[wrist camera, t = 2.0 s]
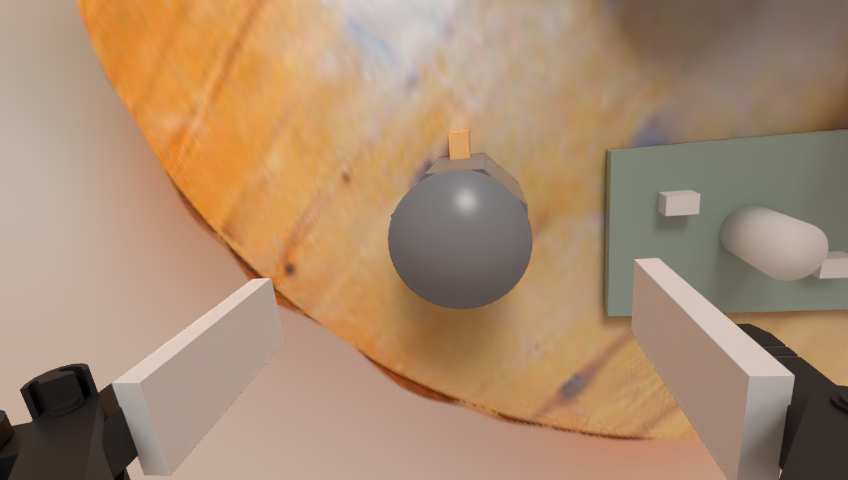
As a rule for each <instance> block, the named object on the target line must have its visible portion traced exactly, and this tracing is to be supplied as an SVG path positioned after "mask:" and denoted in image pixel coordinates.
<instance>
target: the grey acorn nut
mask: <svg viewBox="0 0 848 480" xmlns="http://www.w3.org/2000/svg"><path fill="white" fill-rule="evenodd" d="M448 140H449V152H450V156H448V157H440V158H439V159H438V160H437V161H436V162H435V163H434V164H433V166H432V167H431V168H430V169H429V170H428V171H427V172H426V174H425V175H424V176H423V177H422V178H421V180H420V181H419V182H418V183H417V184H416V185H415V186H414V187H412V188H411V189H410V191H409V192H408V193H407V194H406V195H405V196H404V197H403V198H402V200H401V201H400V203H399V204H398V206H397V208H396V209H395V211H394V213H393V214H392V215H391V218H392V219H391V222H390V227H389V235H388V243H389V251H390V256H391V259H392V262H393V265H394V267H395V269H396V271H397V273H398V274H399V276H400V277H401V279H402V280H403V281H404V282H405V284H406V285H407V286H408V287H409V288H410V289H411V290H412V291H414V292H415V293H416V294H418V295H419V296H420V297H422V298H424V299H425V300H427V301H429V302H432V303H434V304H437V305H440V306H444V307H448V308H455V309H467V308H475V307H480V306H483V305H486V304H489V303H492V302H494V301H496V300H498V299H499V298H501V297H502V296H504V295H505V294H507V293H508V292H509V291H510V290H511V289H512V288H513V287H514V286H515V285H516V284H517V283H518V282H519V280H520V279H521V277H522V276H523V274H524V272H525V270H526V268H527V266H528V263H529V260H530V256H531V251H532V233H531V227H530V223H529V220H528V214H527V204H526V202H525V199H524V196H523V194H522V191H521V189H520V186H519V184H518V182H517V181H516V180H515V179H514V178H513V177H512V176H510V175H509V174H508V173H507V172H506V171H504V170H503V169H502V168H501V167H500V166H499V165H497V164H496V163H495V162H494V161H493V160H492V159H490V158H489V157H488V156H487V155H486V154H485V153H480V154H471V147H470V134H469V129H466V130H456V131H450V132H449V133H448Z"/></svg>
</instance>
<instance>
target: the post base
mask: <svg viewBox="0 0 848 480" xmlns="http://www.w3.org/2000/svg"><path fill="white" fill-rule="evenodd" d="M648 258H659V259H660V260H661V261H663V262H664V263H665V264H666V265H667V266H668V267H669V268H671V269H672V270H673V271H674V272H675V273H676V274H678V275H679V276H680V277H681V278H682V279H683V280H685V281H686V282H687V283H688V284H689V285H690V286H691V287H693V288H694V289H695V290H696V291H697V292H698V293H700V294H701V295H702V296H703V297H704V298H705V299H707V300H708V301H709V302H710V303H711V304H712V305H713V306H715V307H716V308H717V309H718V310H719V311H720V312H722V313H746V312H781V311H815V310H848V128H846V129H835V130H824V131H813V132H801V133H790V134H779V135H768V136H757V137H746V138H734V139H723V140H712V141H701V142H690V143H679V144H668V145H656V146H645V147H634V148H623V149H612V150H607V170H606V232H605V293H604V310H605V312H606V314H607V316H608V317H609V316H632V303H633V274H634V259H648Z"/></svg>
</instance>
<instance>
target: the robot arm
mask: <svg viewBox="0 0 848 480" xmlns="http://www.w3.org/2000/svg"><path fill="white" fill-rule="evenodd" d="M632 334H633V336H634V337H635V339H636V340H637V342H638V343H639V345H640V346H641V348H642V349H643V351H644V352H645V354H646V356H647V357H648V359H649V360H650V362H651V363H652V365H653V366H654V368H655V369H656V371H657V372H658V374H659V375H660V377H661V378H662V380H663V382H664V383H665V385H666V386H667V388H668V389H669V391H670V392H671V394H672V395H673V397H674V398H675V400H676V401H677V403H678V404H679V406H680V408H681V409H682V411H683V412H684V414H685V415H686V417H687V418H688V420H689V421H690V423H691V424H692V426H693V427H694V429H695V430H696V432H697V433H698V435H699V437H700V438H701V440H702V441H703V443H704V444H705V446H706V447H707V449H708V450H709V452H710V453H711V455H712V456H713V458H714V459H715V461H716V462H717V464H718V466H719V467H720V469H721V470H722V472H723V473H724V475H725V476H726V478H727V479H728V480H848V386H839V385H835V384H834V383H833V382H832V381H830V380H829V379H828V378H827V377H825V376H824V375H823V374H821V373H820V372H819V371H818V370H816V369H815V368H814V367H813V366H811V365H810V364H809V363H808V362H806V361H805V360H804V359H802V358H801V357H798V355H797V354H796V353H795V352H794V351H792V350H791V349H790V348H788V347H785V344H783V343H782V342H781V341H780V340H778V339H777V338H776V337H775V336H773V335H772V334H771V333H769V332H766V331H764V330H762V329H760V328H758V327H755V326H753V325H751V324H734V323H733V322H732V321H731V320H730V319H729V318H727V317H726V316H725V315H724V314H723V313H722V312H720V311H719V310H718V309H717V308H716V307H715V306H713V305H712V304H711V303H710V302H709V301H708V300H707V299H705V298H704V297H703V296H702V295H701V294H700V293H698V292H697V291H696V290H695V289H694V288H693V287H691V286H690V285H689V284H688V283H687V282H686V281H685V280H683V279H682V278H681V277H680V276H679V275H678V274H676V273H675V272H674V271H673V270H672V269H671V268H669V267H668V266H667V265H666V264H665V263H664V262H663V261H661V260H660V259H659V258H648V259H634V274H633V303H632ZM284 342H285V339H284V335H283V330H282V326H281V321H280V317H279V312H278V307H277V303H276V298H275V294H274V289H273V285H272V280H271V278H262V279H252V280H251V281H249V282H248V283H247V284H245V285H244V286H242V287H241V288H240V289H238V290H237V291H236V292H234V293H233V294H232V295H231V296H229V297H228V298H226V299H225V300H224V301H222V302H221V303H220V304H218V305H217V306H215V307H214V308H213V309H211V310H210V311H209V312H207V313H206V314H205V315H203V316H202V317H200V318H199V319H198V320H196V321H195V322H194V323H193V324H191V325H190V326H188V327H187V328H186V329H184V330H183V331H182V332H180V333H179V334H178V335H176V336H175V337H174V338H172V339H171V340H170V341H168V342H167V343H165V344H164V345H163V346H161V347H160V348H159V349H157V350H156V351H154V352H153V353H152V354H150V355H149V356H148V357H146V358H145V359H143V360H142V361H141V362H140V363H138V364H137V365H135V366H134V367H133V368H132V369H130V370H129V371H127V372H126V373H124V374H123V375H122V376H120V377H119V378H118V379H116V380H115V381H114V382H112V383H111V384H110V385H108V386H107V387H106V388H104V389H103V390H101V391H100V392H99V393H98V391H97V389H96V386H95V383H94V381H93V378H92V375H91V372H90V369H89V367H88V365H86V364H82V363H81V364H71V365H67V366H62V367H59V368H56V369H54V370H51V371H48V372H46V373H44V374H42V375H40V376H37V377H35V378H34V379H32V380H31V381H29V382H28V383H26V384H25V385H24V386H23V387H22V388H21V389H20V391H21V393H22V396H23V398H24V401H25V403H26V405H27V408H28V410H29V412H30V415H31V417H32V419H33V420H32V422H30V423H25V424H20V425H15V426H11V424H10V422H9V419H8V417H7V415H6V413H5V411H2V410H0V480H130V478H129V475H128V472H127V469H126V467H127V466H128V465H129V464H130V463H131V462H132V461H133V460H134V459H135V458H136V457H137V456H138V459H139V461H140V464H141V467H142V470H143V473H144V475H160V476H171V475H172V474H173V472H174V471H175V470H176V469H177V468H178V467H179V466H180V464H181V463H182V462H183V461H184V459H185V458H186V457H187V456H188V455H189V454H190V453H191V451H192V450H193V449H194V448H195V447H196V445H197V444H198V443H199V442H200V441H201V440H202V439H203V437H204V436H205V435H206V434H207V433H208V431H209V430H210V429H211V428H212V427H213V426H214V424H215V423H216V422H217V421H218V420H219V418H220V417H221V416H222V415H223V414H224V413H225V411H226V410H227V409H228V408H229V407H230V406H231V405H232V403H233V402H234V401H235V400H236V399H237V398H238V396H239V395H240V394H241V393H242V392H243V390H244V389H245V388H246V387H247V386H248V385H249V383H250V382H251V381H252V380H253V379H254V378H255V376H256V375H257V374H258V373H259V372H260V370H261V369H262V368H263V367H264V366H265V365H266V364H267V362H268V361H269V360H270V359H271V358H272V356H273V355H274V354H275V353H276V352H277V351H278V349H279V348H280V347H281V346H282V345H283V343H284ZM780 468H781V469H782V473H781V476H780V478H779V473H780Z"/></svg>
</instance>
